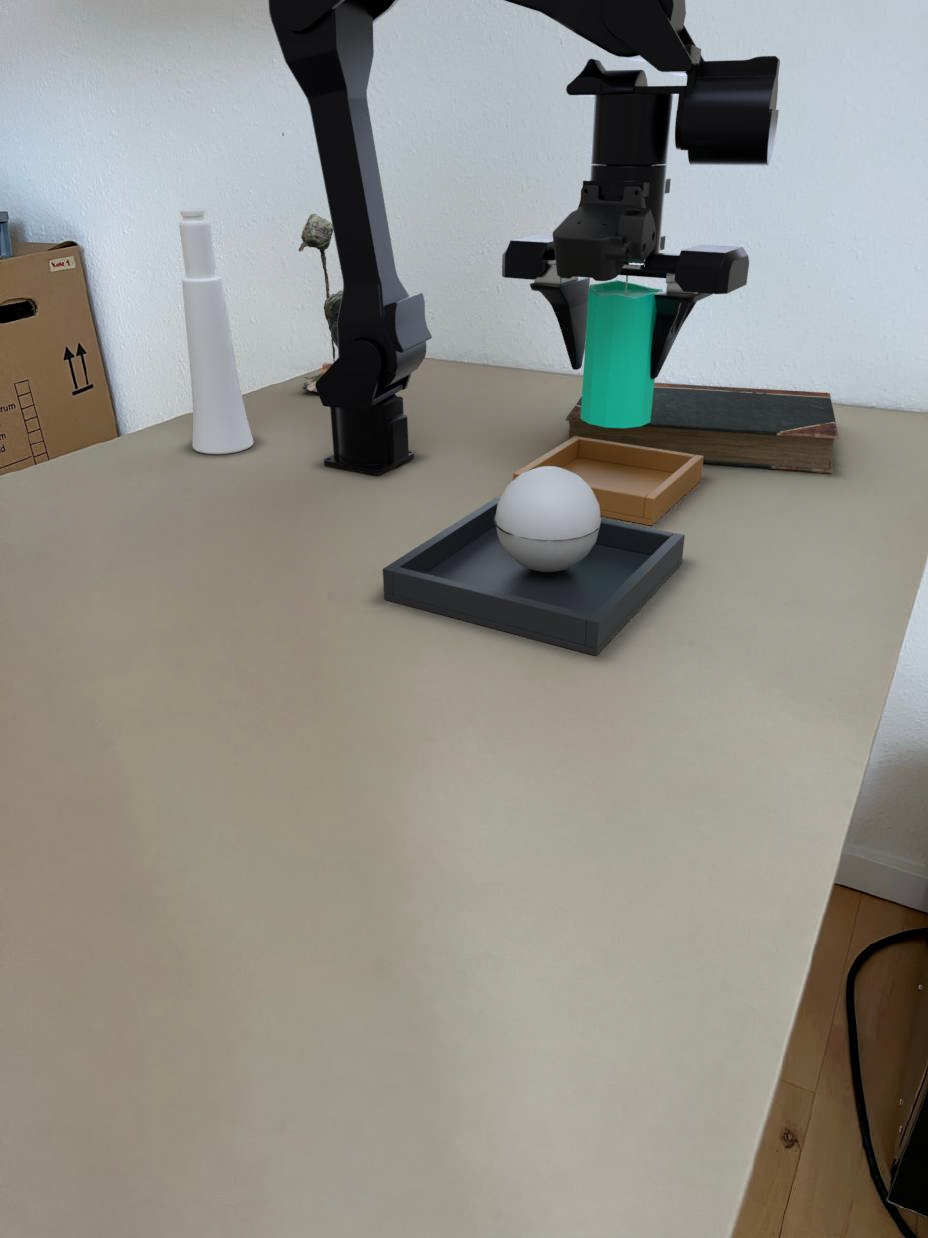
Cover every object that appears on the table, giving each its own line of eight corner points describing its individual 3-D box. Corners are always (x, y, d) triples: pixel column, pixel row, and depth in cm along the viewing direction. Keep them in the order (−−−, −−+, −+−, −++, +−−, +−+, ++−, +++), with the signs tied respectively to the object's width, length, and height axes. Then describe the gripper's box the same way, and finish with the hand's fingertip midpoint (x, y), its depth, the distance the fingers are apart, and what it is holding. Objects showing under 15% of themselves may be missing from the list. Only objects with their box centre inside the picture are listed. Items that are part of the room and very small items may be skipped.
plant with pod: (383, 399, 111) (375, 215, 102) (292, 395, 113) (276, 214, 104) (400, 382, 118) (394, 209, 109) (314, 379, 120) (301, 208, 111)
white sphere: (498, 545, 71) (499, 450, 67) (598, 549, 70) (604, 454, 66) (483, 605, 62) (483, 499, 58) (597, 610, 61) (604, 504, 57)
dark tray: (384, 599, 64) (382, 568, 63) (494, 524, 76) (494, 497, 75) (596, 656, 57) (598, 622, 56) (681, 563, 69) (685, 534, 67)
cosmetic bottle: (225, 458, 91) (193, 212, 81) (179, 449, 94) (143, 210, 84) (266, 442, 96) (241, 207, 86) (221, 433, 99) (192, 205, 88)
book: (562, 453, 92) (832, 474, 86) (564, 417, 90) (839, 436, 84) (592, 407, 107) (824, 423, 100) (594, 375, 105) (830, 389, 99)
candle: (573, 408, 82) (582, 262, 76) (640, 407, 82) (654, 261, 77) (588, 429, 76) (598, 273, 71) (660, 427, 77) (676, 272, 71)
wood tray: (512, 498, 81) (512, 473, 80) (573, 458, 90) (574, 435, 89) (651, 525, 75) (654, 498, 74) (701, 480, 85) (704, 455, 84)
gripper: (467, 166, 69) (468, 380, 76) (718, 171, 60) (691, 411, 68) (535, 161, 77) (530, 354, 85) (763, 165, 69) (736, 379, 76)
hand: (613, 373), depth 78 cm, fingers closed on candle, 6 cm apart
